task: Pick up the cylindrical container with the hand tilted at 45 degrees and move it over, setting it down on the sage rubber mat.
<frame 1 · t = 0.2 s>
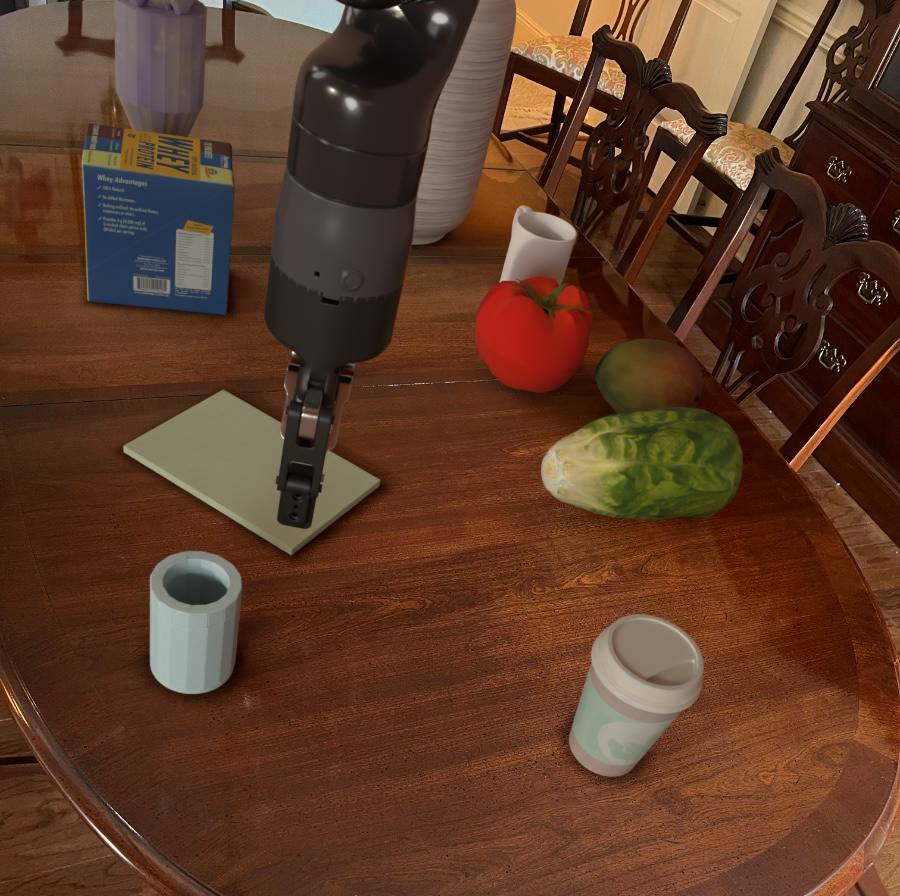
hand: (302, 482, 66), 19 cm above the table, tool pointing down, fingers open, 8 cm apart
decorative object: (159, 202, 129), on the table
lettuce: (619, 509, 104), on the table
cylindrical container: (192, 662, 77), on the table
fruit: (631, 419, 117), on the table
protein box: (159, 287, 115), on the table
mat: (254, 469, 95), on the table
tomato: (519, 376, 118), on the table
coffee cup: (602, 748, 80), on the table
vase: (397, 222, 140), on the table
mug: (518, 294, 133), on the table
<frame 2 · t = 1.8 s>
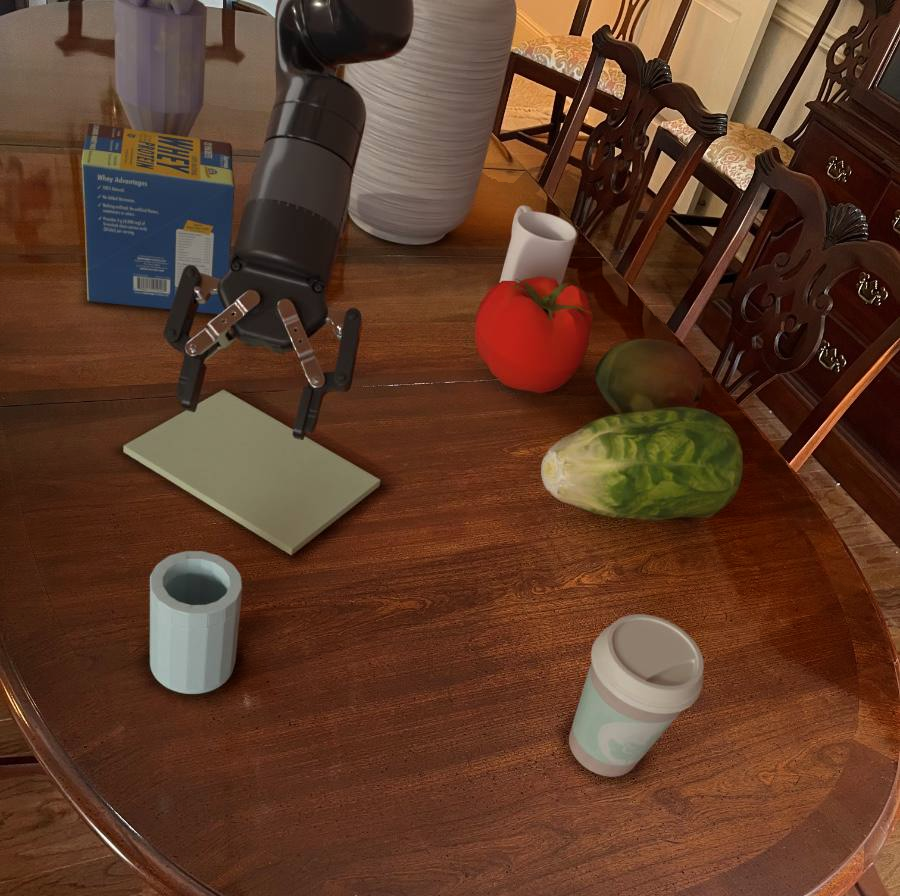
hand: (243, 423, 75), 15 cm above the table, tool tilted 45°, fingers open, 8 cm apart
nothing on the table moved.
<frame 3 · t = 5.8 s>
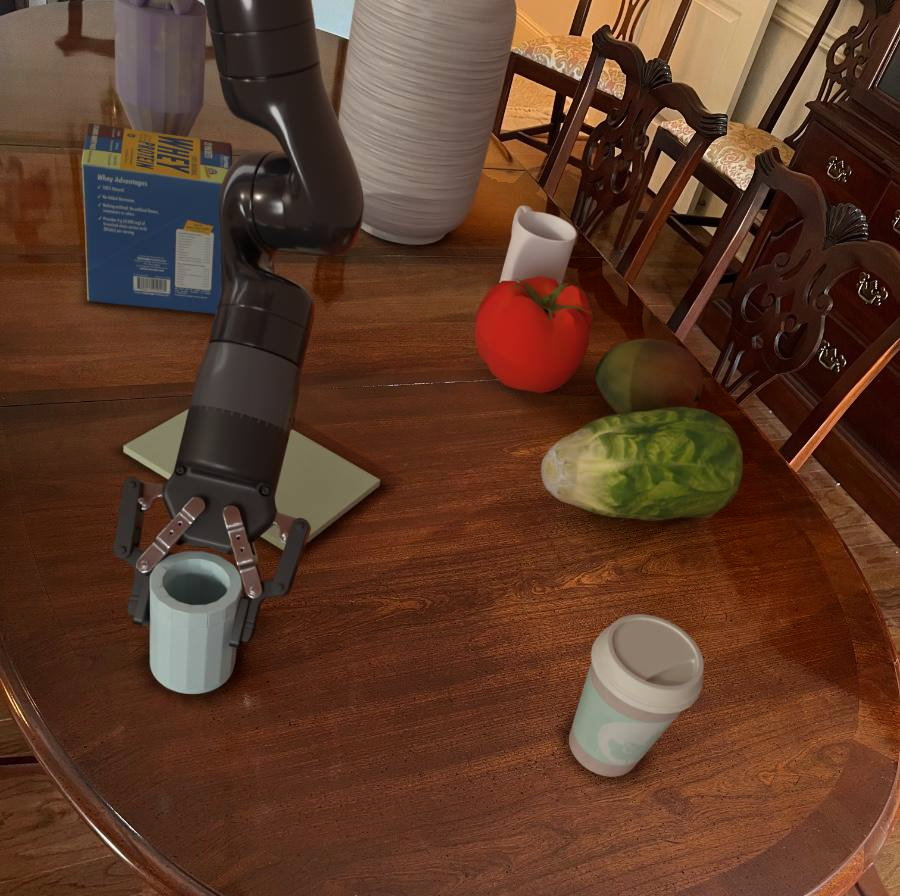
hand: (188, 635, 73), 5 cm above the table, tool tilted 45°, fingers closed on cylindrical container, 6 cm apart
cylindrical container: (192, 662, 77), on the table, touching gripper
everything else where it was.
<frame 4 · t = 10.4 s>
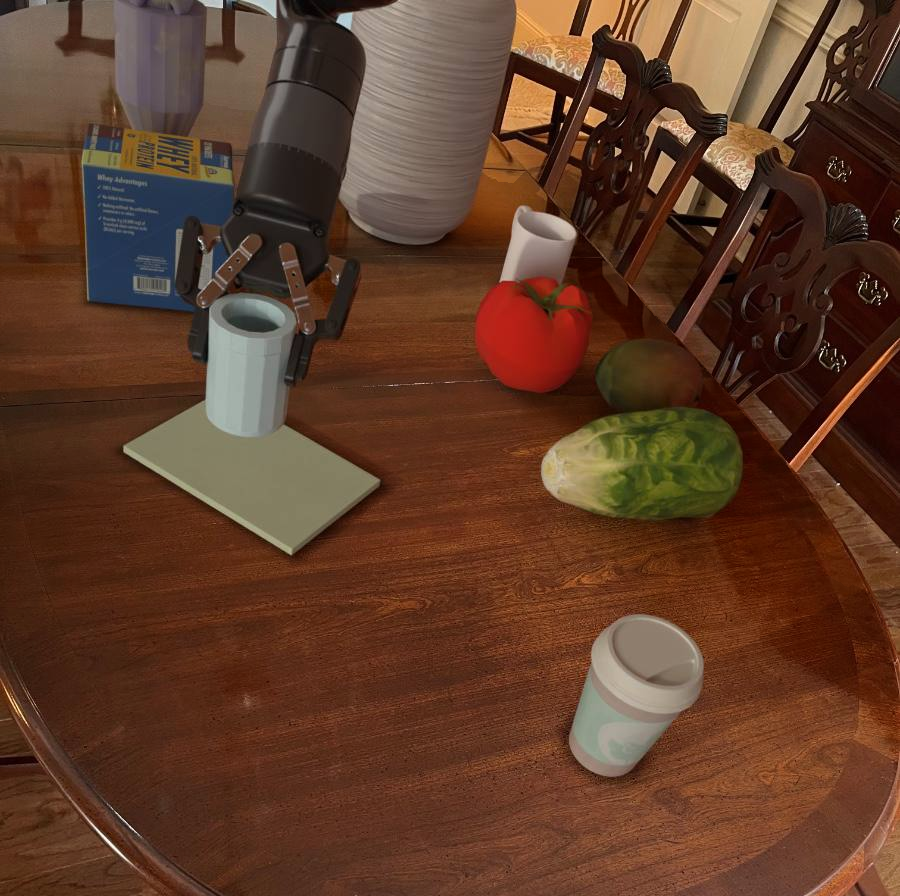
hand: (244, 372, 76), 17 cm above the table, tool tilted 45°, fingers closed on cylindrical container, 6 cm apart
cylindrical container: (246, 413, 80), point 12 cm above the table, touching gripper
everything else where it was.
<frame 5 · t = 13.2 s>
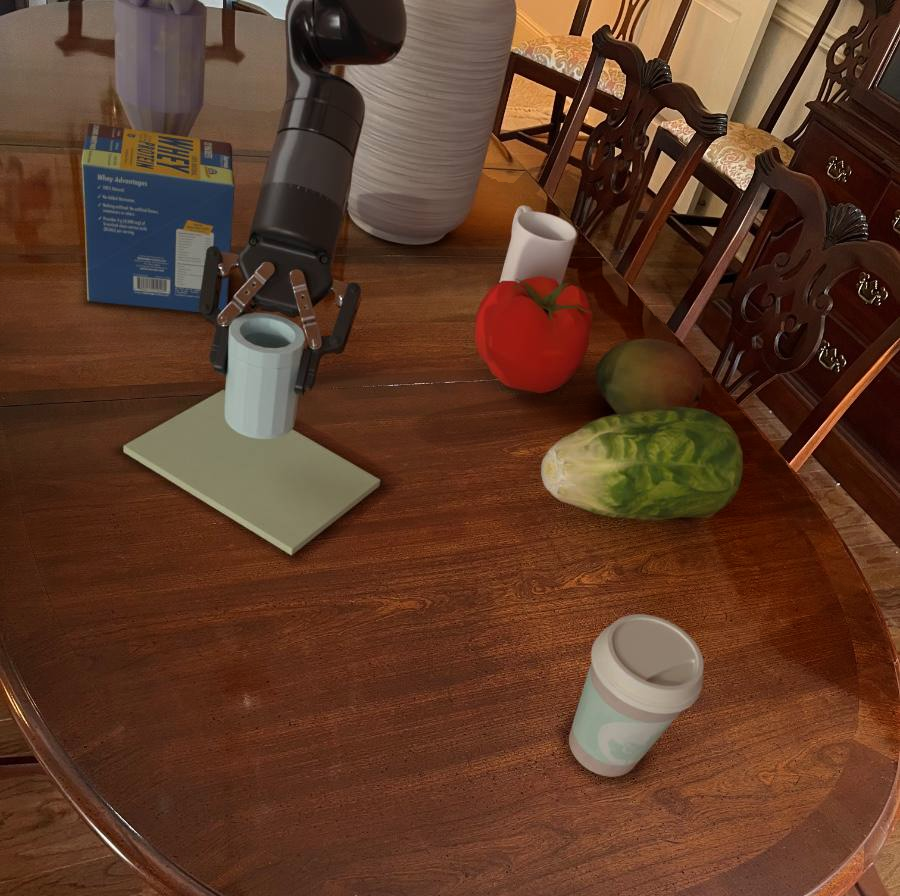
hand: (259, 382, 87), 11 cm above the table, tool tilted 45°, fingers closed on cylindrical container, 6 cm apart
cylindrical container: (259, 418, 91), point 6 cm above the table, touching gripper
everything else where it was.
when the fingers open (6 cm above the table, at t = 15.2 s): cylindrical container stays where it is, resting on mat.
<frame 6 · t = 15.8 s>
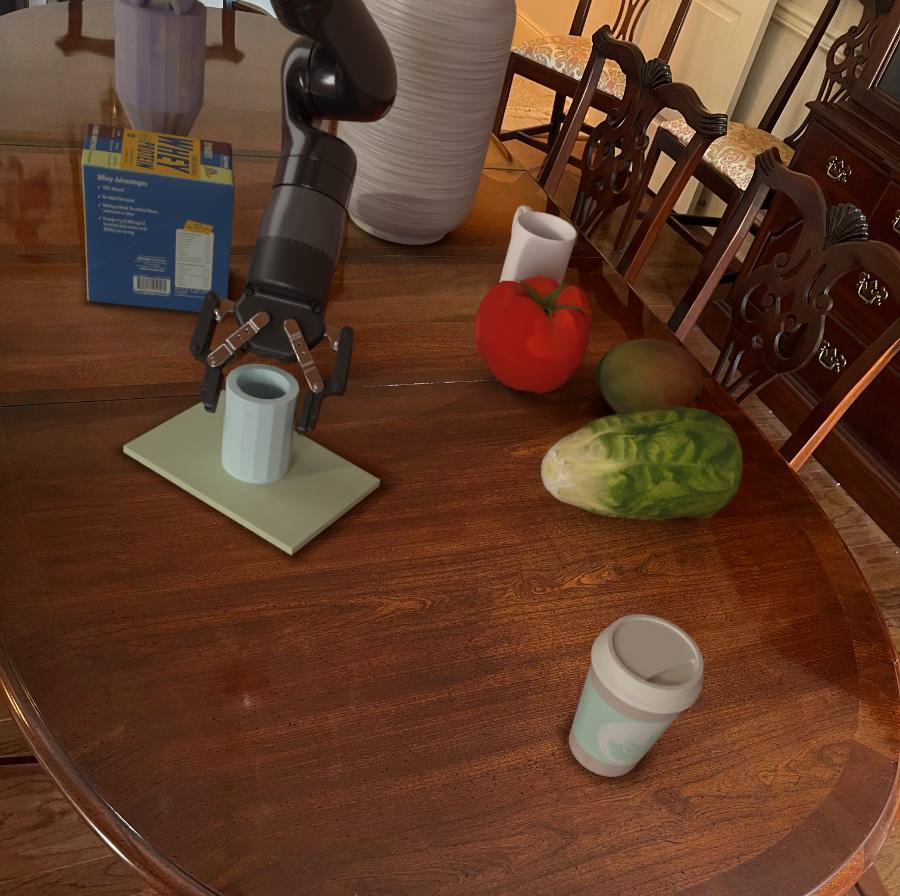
hand: (255, 423, 90), 6 cm above the table, tool tilted 45°, fingers open, 8 cm apart
cylindrical container: (255, 462, 95), point 1 cm above the table, touching mat
everything else where it was.
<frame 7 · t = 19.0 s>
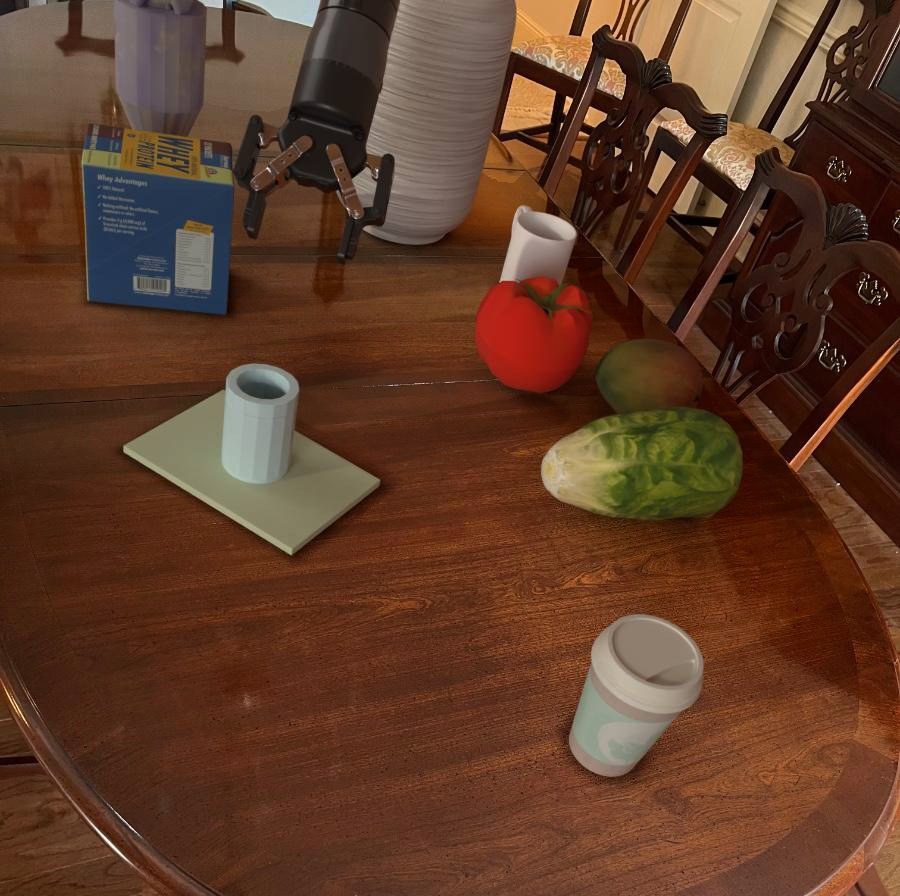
hand: (296, 249, 92), 17 cm above the table, tool tilted 45°, fingers open, 8 cm apart
nothing on the table moved.
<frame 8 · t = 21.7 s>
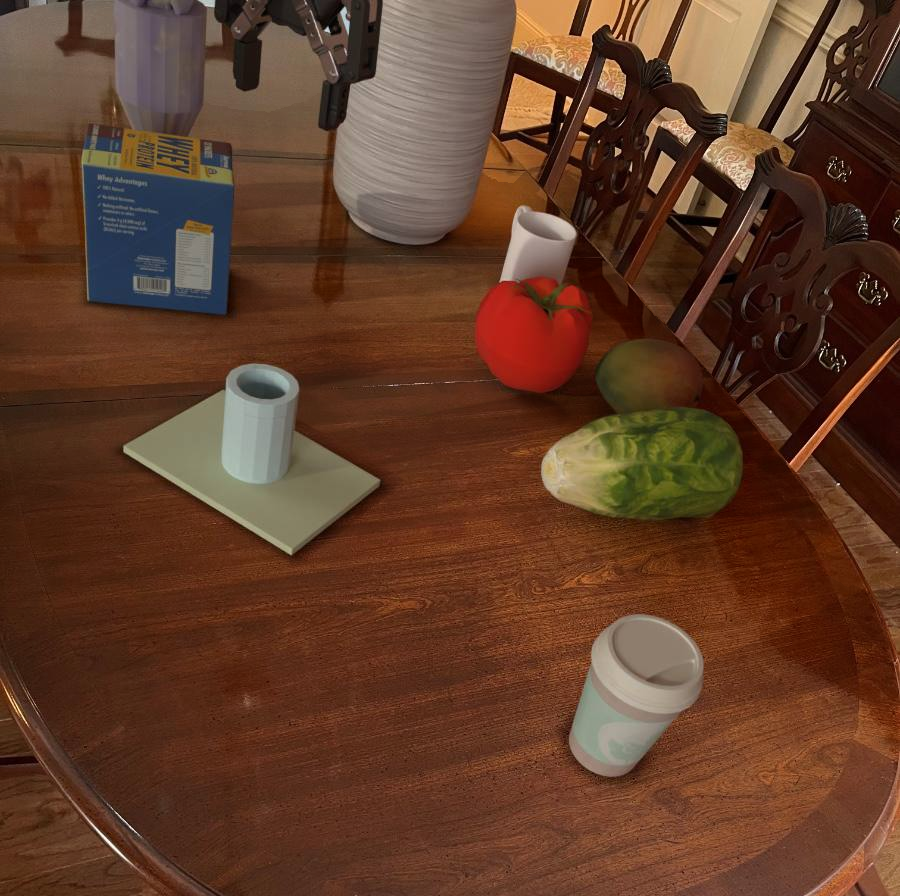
hand: (287, 108, 81), 30 cm above the table, tool pointing down, fingers open, 8 cm apart
nothing on the table moved.
at the end: cylindrical container inside the target area on the mat (0.1 cm from its centre), point 0.8 cm above the mat's base; cylindrical container tilted 0°; cylindrical container moved 25.2 cm from its start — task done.
